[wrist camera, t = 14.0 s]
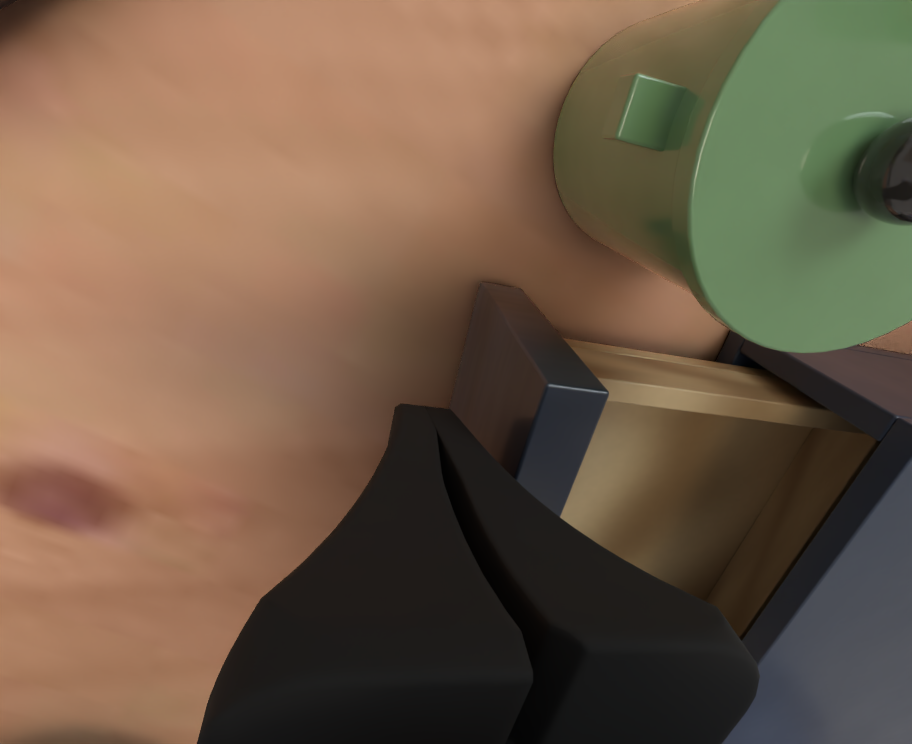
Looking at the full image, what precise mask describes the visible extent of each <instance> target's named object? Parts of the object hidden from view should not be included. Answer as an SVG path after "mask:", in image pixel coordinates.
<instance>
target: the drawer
mask: <svg viewBox="0 0 912 744" xmlns="http://www.w3.org/2000/svg"><path fill="white" fill-rule="evenodd" d="M449 409H451V410H452V411H453V412H454V413H455V415H456V416H457V417H458V418H459V419H460V420H461V421H462V423H463V424H464V425H465V426H466V427H467V428H468V430H469V431H470V432H471V433H472V434H473V435H474V437H475V438H476V439H477V440H478V441H479V442H480V443H481V444H482V446H483V447H484V448H485V449H486V450H487V451H488V452H489V453H490V454H491V455H492V457H493V458H494V459H495V460H496V461H497V462H498V463H499V464H500V465H501V466H502V467H503V468H504V469H505V470H506V471H507V472H508V473H509V474H510V475H511V476H512V477H513V478H514V479H515V480H516V481H518V482H519V483H520V484H521V485H522V486H523V487H524V488H525V489H526V490H527V491H528V492H529V493H531V494H532V495H533V496H534V497H535V498H536V499H538V500H539V501H540V502H541V503H543V504H544V505H545V506H546V507H548V508H549V509H550V510H551V511H553V512H554V513H555V514H556V515H558V516H559V517H560V518H562V519H563V520H564V521H566V522H567V523H568V524H570V525H571V526H573V527H574V528H575V529H577V530H578V531H580V532H581V533H583V534H584V535H586V536H587V537H589V538H590V539H592V540H593V541H595V542H596V543H598V544H599V545H601V546H602V547H604V548H606V549H607V550H609V551H611V552H612V553H614V554H615V555H617V556H619V557H620V558H622V559H624V560H626V561H627V562H629V563H631V564H633V565H635V566H636V567H638V568H640V569H642V570H643V571H645V572H647V573H649V574H651V575H652V576H654V577H656V578H658V579H660V580H662V581H664V582H666V583H668V584H670V585H673V586H675V587H677V588H679V589H681V590H683V591H685V592H687V593H689V594H691V595H693V596H695V597H698V598H700V599H702V600H704V601H706V602H708V603H710V604H712V605H714V606H716V607H718V608H719V610H720V611H721V613H722V614H723V615H724V617H725V618H726V620H727V621H728V623H729V624H730V625H731V627H732V628H733V630H734V631H735V633H736V634H737V635H738V637H739V638H740V640H741V641H742V640H743V639H744V637H745V636H746V634H747V633H748V631H749V630H750V629H751V627H752V626H753V624H754V623H755V621H756V620H757V619H758V617H759V616H760V614H761V613H762V611H763V610H764V609H765V607H766V606H767V604H768V603H769V601H770V600H771V599H772V597H773V596H774V594H775V593H776V591H777V590H778V589H779V587H780V586H781V584H782V583H783V581H784V580H785V579H786V577H787V576H788V574H789V573H790V571H791V570H792V569H793V567H794V566H795V564H796V563H797V561H798V560H799V559H800V557H801V556H802V554H803V553H804V551H805V550H806V549H807V547H808V546H809V544H810V543H811V541H812V540H813V539H814V537H815V536H816V534H817V533H818V531H819V530H820V529H821V527H822V526H823V524H824V523H825V521H826V520H827V519H828V517H829V516H830V514H831V513H832V511H833V510H834V509H835V507H836V506H837V504H838V503H839V501H840V500H841V499H842V497H843V496H844V494H845V493H846V491H847V490H848V489H849V487H850V486H851V484H852V483H853V481H854V480H855V479H856V477H857V476H858V474H859V473H860V471H861V470H862V469H863V467H864V466H865V464H866V463H867V461H868V460H869V459H870V457H871V456H872V454H873V453H874V452H875V450H876V449H877V447H878V446H879V444H880V443H881V442H879V441H877V440H876V439H874V438H872V437H871V436H869V435H868V434H866V433H865V432H863V431H862V430H860V429H858V428H857V427H855V426H854V425H852V424H851V423H849V422H848V421H846V420H844V419H843V418H841V417H840V416H838V415H837V414H835V413H834V412H832V411H830V410H829V409H827V408H826V407H824V406H823V405H821V404H820V403H818V402H816V401H815V400H813V399H812V398H810V397H809V396H807V395H806V394H804V393H802V392H801V391H799V390H798V389H796V388H795V387H793V386H792V385H790V384H788V383H787V382H785V381H784V380H782V379H781V378H779V377H778V376H776V375H774V374H773V373H771V372H770V371H768V370H762V369H756V368H750V367H743V366H737V365H731V364H724V363H718V362H711V361H705V360H699V359H692V358H686V357H680V356H673V355H667V354H661V353H654V352H648V351H642V350H635V349H629V348H622V347H616V346H610V345H603V344H597V343H591V342H584V341H578V340H572V339H565V338H563V337H562V336H561V335H560V334H559V333H558V332H557V330H556V329H555V328H554V327H553V326H552V325H551V323H550V322H549V321H548V320H547V319H546V318H545V316H544V315H543V314H542V313H541V312H540V311H539V309H538V308H537V307H536V306H535V305H534V304H533V302H532V301H531V300H530V299H529V298H528V297H527V295H526V294H525V293H524V292H523V291H522V290H521V289H520V288H515V287H510V286H504V285H498V284H493V283H487V282H480V284H479V288H478V292H477V296H476V300H475V304H474V308H473V312H472V316H471V320H470V324H469V328H468V332H467V336H466V340H465V344H464V349H463V353H462V357H461V361H460V365H459V369H458V373H457V377H456V381H455V385H454V389H453V393H452V397H451V401H450V405H449Z"/></svg>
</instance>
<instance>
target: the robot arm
mask: <svg viewBox="0 0 912 744" xmlns="http://www.w3.org/2000/svg"><path fill="white" fill-rule="evenodd" d="M759 678H760V674H759V670H758V666H757V663H756V661H755V660H754V658H753V657H752V655H751V654H750V653H749V651H748V650H747V648H746V647H745V645H744V644H743V643H742V641H741V640H740V638H739V637H738V635H737V634H736V633H735V631H734V630H733V628H732V627H731V625H730V624H729V623H728V621H727V620H726V618H725V617H724V615H723V614H722V613H721V611H720V610H719V608H718V607H716V606H714V605H712V604H710V603H708V602H706V601H704V600H702V599H700V598H698V597H695V596H693V595H691V594H689V593H687V592H685V591H683V590H681V589H679V588H677V587H675V586H673V585H670V584H668V583H666V582H664V581H662V580H660V579H658V578H656V577H654V576H652V575H651V574H649V573H647V572H645V571H643V570H642V569H640V568H638V567H636V566H635V565H633V564H631V563H629V562H627V561H626V560H624V559H622V558H620V557H619V556H617V555H615V554H614V553H612V552H611V551H609V550H607V549H606V548H604V547H602V546H601V545H599V544H598V543H596V542H595V541H593V540H592V539H590V538H589V537H587V536H586V535H584V534H583V533H581V532H580V531H578V530H577V529H575V528H574V527H573V526H571V525H570V524H568V523H567V522H566V521H564V520H563V519H562V518H560V517H559V516H558V515H556V514H555V513H554V512H553V511H551V510H550V509H549V508H548V507H546V506H545V505H544V504H543V503H541V502H540V501H539V500H538V499H536V498H535V497H534V496H533V495H532V494H531V493H529V492H528V491H527V490H526V489H525V488H524V487H523V486H522V485H521V484H520V483H519V482H518V481H516V480H515V479H514V478H513V477H512V476H511V475H510V474H509V473H508V472H507V471H506V470H505V469H504V468H503V467H502V466H501V465H500V464H499V463H498V462H497V461H496V460H495V459H494V458H493V457H492V455H491V454H490V453H489V452H488V451H487V450H486V449H485V448H484V447H483V446H482V444H481V443H480V442H479V441H478V440H477V439H476V438H475V437H474V435H473V434H472V433H471V432H470V431H469V430H468V428H467V427H466V426H465V425H464V424H463V423H462V421H461V420H460V419H459V418H458V417H457V416H456V415H455V413H454V412H453V411H452V410H451V409H445V408H436V407H427V406H419V405H410V404H399V405H398V406H396V407H395V410H394V415H393V420H392V425H391V431H390V436H389V441H388V446H387V448H386V451H385V453H384V455H383V457H382V459H381V461H380V463H379V465H378V467H377V469H376V471H375V473H374V475H373V476H372V478H371V480H370V481H369V483H368V485H367V486H366V488H365V489H364V491H363V492H362V494H361V495H360V497H359V498H358V500H357V501H356V503H355V504H354V505H353V507H352V508H351V509H350V510H349V512H348V513H347V514H346V516H345V517H344V518H343V519H342V521H341V522H340V523H339V524H338V526H337V527H336V528H335V529H334V530H333V531H332V533H331V534H330V535H329V536H328V537H327V538H326V539H325V540H324V541H323V542H322V543H321V544H320V545H319V546H318V547H317V548H316V549H315V550H314V551H313V552H312V553H311V555H310V556H309V557H308V558H307V559H306V560H305V561H304V562H303V563H301V564H300V565H299V566H298V567H297V568H296V569H295V570H294V571H293V572H291V573H290V574H289V575H288V576H287V577H286V578H284V579H283V580H282V581H281V582H280V583H279V584H277V585H276V586H275V587H274V588H273V589H272V590H270V591H269V592H268V593H267V594H266V595H265V596H263V597H262V598H261V599H260V601H259V603H258V604H257V606H256V607H255V609H254V611H253V612H252V614H251V616H250V617H249V619H248V621H247V622H246V624H245V626H244V627H243V629H242V631H241V633H240V634H239V636H238V638H237V640H236V641H235V643H234V645H233V647H232V649H231V650H230V652H229V654H228V656H227V658H226V660H225V662H224V664H223V666H222V668H221V671H220V673H219V675H218V677H217V680H216V682H215V685H214V687H213V690H212V692H211V695H210V697H209V700H208V703H207V707H206V711H205V715H204V718H203V722H202V726H201V730H200V734H199V738H198V742H197V744H722V743H723V742H724V740H725V739H726V738H727V736H728V735H729V734H730V732H731V731H732V730H733V729H734V727H735V726H736V725H737V723H738V722H739V721H740V720H741V718H742V717H743V716H744V714H745V713H746V712H747V710H748V709H749V707H750V705H751V704H752V702H753V700H754V699H755V697H756V693H757V688H758V683H759Z"/></svg>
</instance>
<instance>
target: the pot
mask: <svg viewBox="0 0 912 744" xmlns="http://www.w3.org/2000/svg"><path fill="white" fill-rule="evenodd" d="M553 165H554V173H555V180H556V184H557V188H558V192H559V195H560V197H561V200H562V202H563V204H564V207H565V208H566V210H567V212H568V213H569V215H570V217H571V218H572V219H573V221H574V222H575V223H576V224H577V226H578V227H579V228H580V229H581V230H583V231H584V232H585V233H586V234H587V235H588V236H590V237H591V238H593V239H594V240H596V241H597V242H599V243H601V244H603V245H605V246H606V247H608V248H610V249H612V250H614V251H615V252H617V253H619V254H621V255H622V256H624V257H626V258H628V259H630V260H631V261H633V262H635V263H637V264H639V265H640V266H642V267H644V268H646V269H648V270H649V271H651V272H653V273H655V274H657V275H658V276H660V277H662V278H664V279H665V280H667V281H669V282H671V283H673V284H674V285H676V286H678V287H680V288H682V289H683V290H685V291H687V292H689V293H691V294H692V295H694V296H695V298H696V299H697V300H698V302H699V303H700V305H701V306H702V307H703V308H704V309H705V310H706V311H707V312H708V313H709V314H710V315H711V316H712V317H713V318H714V319H715V320H716V321H717V322H719V323H720V324H722V325H723V326H725V327H726V328H728V329H729V330H731V331H732V332H734V333H736V334H737V335H739V336H741V337H743V338H744V339H746V340H748V341H750V342H753V343H755V344H757V345H760V346H762V347H765V348H769V349H773V350H777V351H782V352H792V353H821V352H828V351H834V350H839V349H844V348H848V347H851V346H855V345H858V344H862V343H865V342H867V341H870V340H872V339H875V338H877V337H880V336H882V335H885V334H887V333H889V332H891V331H893V330H895V329H897V328H899V327H901V326H903V325H905V324H907V323H908V322H910V321H911V320H912V0H699V1H697V2H694V3H691V4H688V5H685V6H683V7H680V8H677V9H674V10H671V11H669V12H666V13H663V14H660V15H657V16H654V17H652V18H649V19H646V20H643V21H641V22H639V23H637V24H634V25H632V26H630V27H628V28H626V29H625V30H623V31H622V32H620V33H618V34H617V35H615V36H614V37H613V38H611V39H610V40H609V41H608V42H607V43H605V44H604V45H603V46H602V47H601V48H600V49H599V50H598V51H597V52H596V53H595V54H594V55H593V56H592V57H591V58H590V59H589V61H588V62H587V63H586V65H585V66H584V67H583V69H582V70H581V71H580V73H579V74H578V76H577V78H576V79H575V81H574V83H573V84H572V86H571V88H570V90H569V92H568V94H567V97H566V99H565V101H564V103H563V106H562V109H561V112H560V115H559V118H558V123H557V127H556V132H555V139H554V148H553Z"/></svg>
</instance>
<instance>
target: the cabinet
mask: <svg viewBox="0 0 912 744" xmlns="http://www.w3.org/2000/svg"><path fill="white" fill-rule="evenodd" d="M716 362H718V363H724V364H731V365H737V366H743V367H750V368H756V369H762V370H768V371H770V372H771V373H773V374H774V375H776V376H778V377H779V378H781V379H782V380H784V381H785V382H787V383H788V384H790V385H792V386H793V387H795V388H796V389H798V390H799V391H801V392H802V393H804V394H806V395H807V396H809V397H810V398H812V399H813V400H815V401H816V402H818V403H820V404H821V405H823V406H824V407H826V408H827V409H829V410H830V411H832V412H834V413H835V414H837V415H838V416H840V417H841V418H843V419H844V420H846V421H848V422H849V423H851V424H852V425H854V426H855V427H857V428H858V429H860V430H862V431H863V432H865V433H866V434H868V435H869V436H871V437H872V438H874V439H876V440H877V441H879V442H881V443H880V444H879V446H878V447H877V449H876V450H875V452H874V453H873V454H872V456H871V457H870V459H869V460H868V461H867V463H866V464H865V466H864V467H863V469H862V470H861V471H860V473H859V474H858V476H857V477H856V479H855V480H854V481H853V483H852V484H851V486H850V487H849V489H848V490H847V491H846V493H845V494H844V496H843V497H842V499H841V500H840V501H839V503H838V504H837V506H836V507H835V509H834V510H833V511H832V513H831V514H830V516H829V517H828V519H827V520H826V521H825V523H824V524H823V526H822V527H821V529H820V530H819V531H818V533H817V534H816V536H815V537H814V539H813V540H812V541H811V543H810V544H809V546H808V547H807V549H806V550H805V551H804V553H803V554H802V556H801V557H800V559H799V560H798V561H797V563H796V564H795V566H794V567H793V569H792V570H791V571H790V573H789V574H788V576H787V577H786V579H785V580H784V581H783V583H782V584H781V586H780V587H779V589H778V590H777V591H776V593H775V594H774V596H773V597H772V599H771V600H770V601H769V603H768V604H767V606H766V607H765V609H764V610H763V611H762V613H761V614H760V616H759V617H758V619H757V620H756V621H755V623H754V624H753V626H752V627H751V629H750V630H749V631H748V633H747V634H746V636H745V637H744V639H743V640H742V643H743V644H744V645H745V647H746V648H747V650H748V651H749V653H750V654H751V655H752V657H753V658H754V660H755V661H756V663H757V666H758V670H759V674H760V678H759V683H758V688H757V693H756V697H755V699H754V700H753V702H752V704H751V705H750V707H749V709H748V710H747V712H746V713H745V714H744V716H743V717H742V718H741V720H740V721H739V722H738V723H737V725H736V726H735V727H734V729H733V730H732V731H731V732H730V734H729V735H728V736H727V738H726V739H725V740H724V742H723V743H722V744H912V355H908V354H902V353H897V352H891V351H885V350H880V349H874V348H869V347H863V346H858V345H855V346H851V347H848V348H844V349H839V350H834V351H828V352H821V353H792V352H782V351H777V350H773V349H769V348H765V347H762V346H760V345H757V344H755V343H753V342H750V341H748V340H746V339H744V338H743V337H741V336H739V335H737V334H736V333H734V332H732V331H730V333H729V335H728V337H727V339H726V341H725V343H724V345H723V348H722V350H721V352H720V354H719V356H718V358H717V360H716Z"/></svg>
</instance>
